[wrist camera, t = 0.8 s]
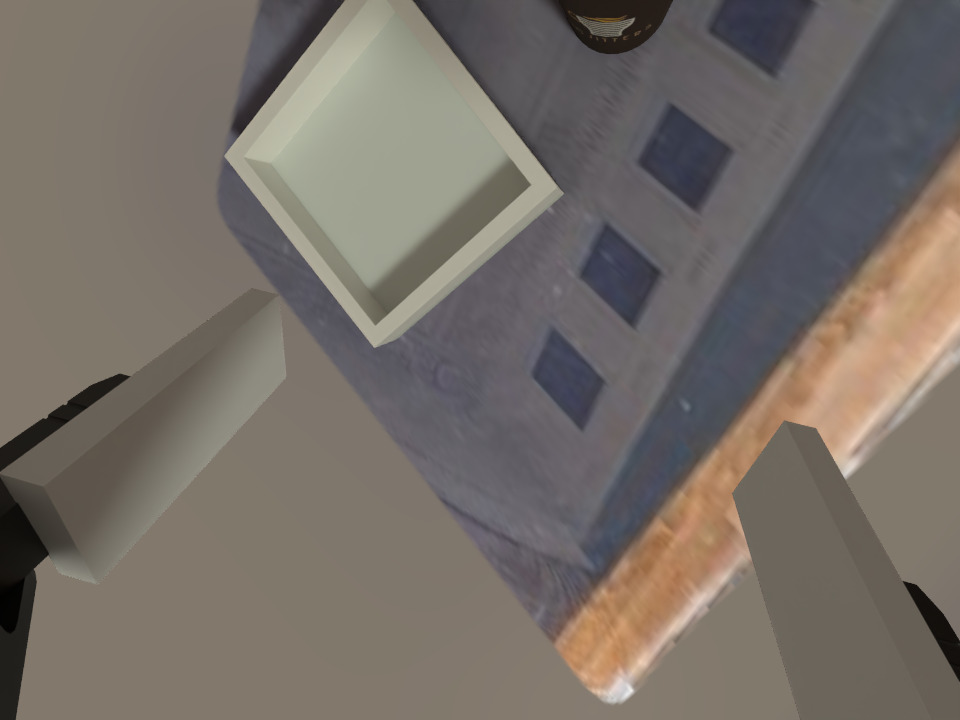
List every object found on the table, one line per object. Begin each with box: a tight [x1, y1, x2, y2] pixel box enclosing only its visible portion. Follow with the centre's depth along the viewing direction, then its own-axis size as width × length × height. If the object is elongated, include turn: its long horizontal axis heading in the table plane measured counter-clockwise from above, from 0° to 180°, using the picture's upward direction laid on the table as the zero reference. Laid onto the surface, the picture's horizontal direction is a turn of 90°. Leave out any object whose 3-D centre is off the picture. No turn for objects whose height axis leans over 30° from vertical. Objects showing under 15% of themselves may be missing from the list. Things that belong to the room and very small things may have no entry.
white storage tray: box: [225, 0, 564, 348], centre depth 35 cm, size 17×18×4 cm
